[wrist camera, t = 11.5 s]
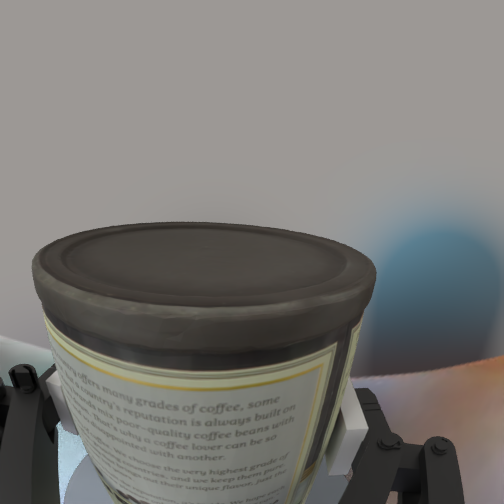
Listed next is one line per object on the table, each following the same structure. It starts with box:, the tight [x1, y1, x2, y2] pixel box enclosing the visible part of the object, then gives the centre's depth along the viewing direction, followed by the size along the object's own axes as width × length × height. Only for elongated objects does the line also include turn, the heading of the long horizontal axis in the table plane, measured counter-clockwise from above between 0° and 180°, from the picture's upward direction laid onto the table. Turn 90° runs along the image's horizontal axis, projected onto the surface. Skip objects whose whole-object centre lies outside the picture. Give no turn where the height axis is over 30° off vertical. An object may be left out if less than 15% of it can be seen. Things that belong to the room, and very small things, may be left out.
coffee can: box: [32, 222, 376, 504], centre depth 11 cm, size 10×10×14 cm
